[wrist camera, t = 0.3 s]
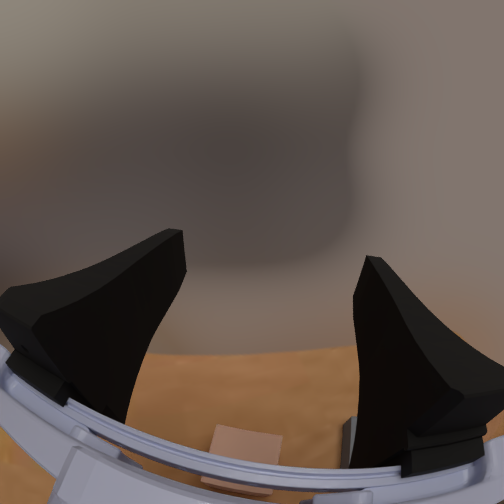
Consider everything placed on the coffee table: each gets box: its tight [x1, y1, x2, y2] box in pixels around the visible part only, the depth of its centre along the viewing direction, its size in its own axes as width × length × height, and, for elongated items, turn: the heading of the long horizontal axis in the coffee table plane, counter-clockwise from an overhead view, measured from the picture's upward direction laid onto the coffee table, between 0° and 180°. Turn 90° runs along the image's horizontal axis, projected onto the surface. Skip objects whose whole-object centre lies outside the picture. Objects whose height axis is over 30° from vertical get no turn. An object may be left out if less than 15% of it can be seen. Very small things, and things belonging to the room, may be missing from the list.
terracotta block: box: [201, 424, 283, 497], centre depth 17 cm, size 5×5×6 cm
